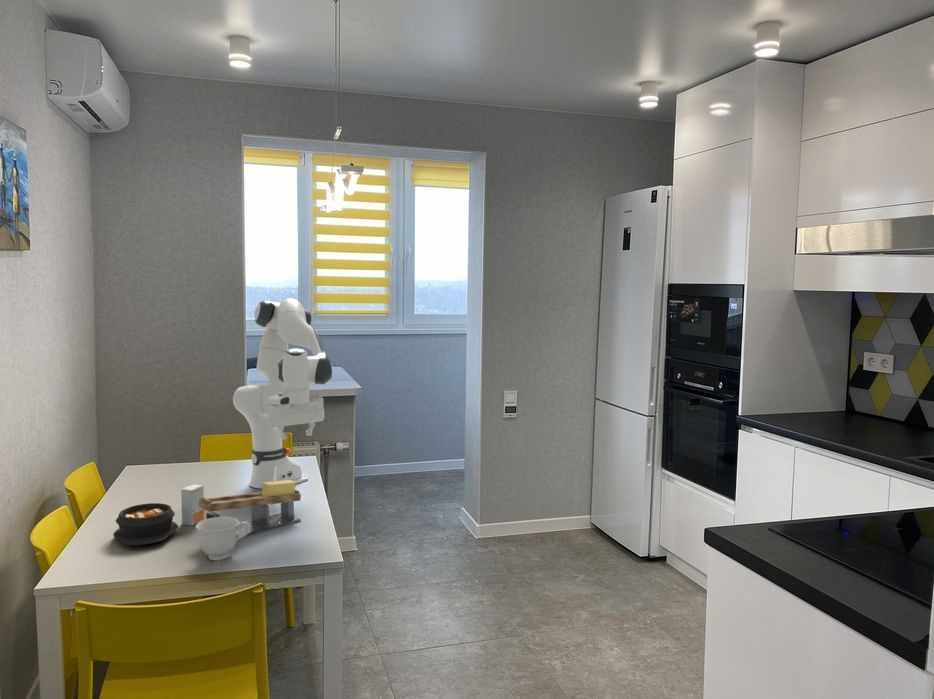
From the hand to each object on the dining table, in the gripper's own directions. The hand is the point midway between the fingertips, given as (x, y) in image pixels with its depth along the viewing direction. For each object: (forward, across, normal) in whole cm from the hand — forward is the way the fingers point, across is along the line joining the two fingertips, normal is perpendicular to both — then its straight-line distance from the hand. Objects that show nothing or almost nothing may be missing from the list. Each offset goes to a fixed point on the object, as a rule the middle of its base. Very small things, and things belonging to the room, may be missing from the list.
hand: (296, 437), depth 243 cm
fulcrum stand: (+27, +18, +2) cm, 33 cm away
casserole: (+28, +46, -13) cm, 55 cm away
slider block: (+18, +8, +2) cm, 20 cm away
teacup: (+28, +34, +18) cm, 48 cm away
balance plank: (+19, +18, +2) cm, 26 cm away
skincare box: (+27, +30, -16) cm, 43 cm away
